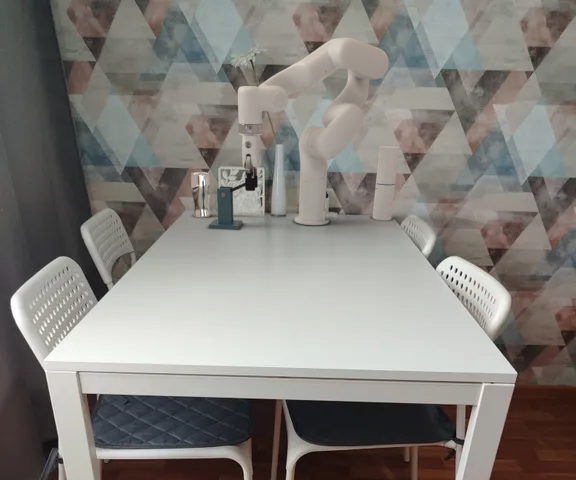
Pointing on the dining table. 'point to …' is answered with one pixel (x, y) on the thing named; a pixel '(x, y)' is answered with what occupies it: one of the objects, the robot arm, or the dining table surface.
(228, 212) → the bracket
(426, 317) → the dining table surface
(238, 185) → the lever
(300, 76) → the robot arm
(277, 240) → the dining table surface
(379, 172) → the cylindrical container
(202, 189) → the metal tumbler
